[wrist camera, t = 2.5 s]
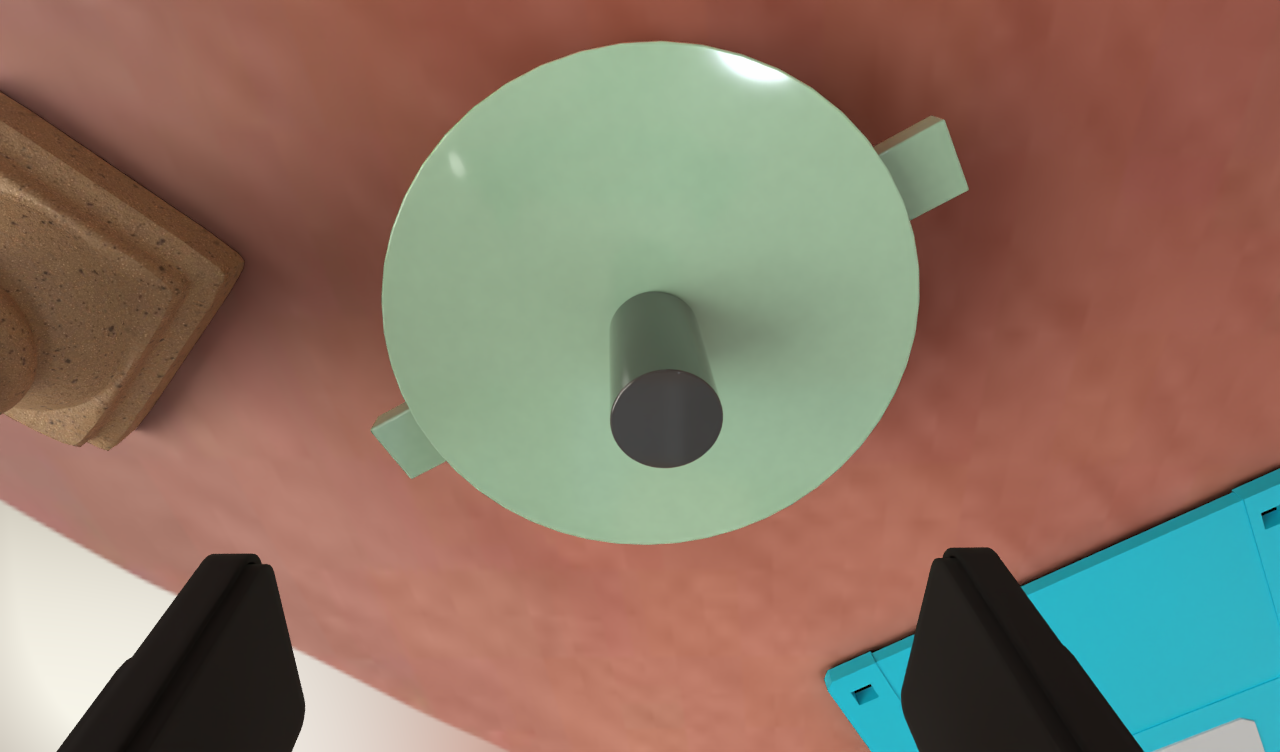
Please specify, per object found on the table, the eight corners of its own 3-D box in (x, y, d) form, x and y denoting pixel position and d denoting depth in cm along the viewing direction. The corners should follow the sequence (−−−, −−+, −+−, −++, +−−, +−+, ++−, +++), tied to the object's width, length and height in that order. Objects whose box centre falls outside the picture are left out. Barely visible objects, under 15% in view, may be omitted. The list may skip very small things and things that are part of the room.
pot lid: (277, 224, 23) (158, 304, 17) (778, -87, 20) (856, -128, 14) (566, 588, 29) (557, 739, 23) (973, 399, 26) (1082, 516, 20)
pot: (319, 210, 30) (223, 279, 23) (795, -84, 26) (872, -119, 19) (530, 486, 37) (510, 613, 29) (938, 282, 33) (1039, 367, 25)
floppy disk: (1291, 460, 38) (1308, 471, 37) (1366, 766, 49) (1380, 780, 48) (819, 671, 43) (824, 685, 42) (985, 904, 54) (991, 919, 53)
